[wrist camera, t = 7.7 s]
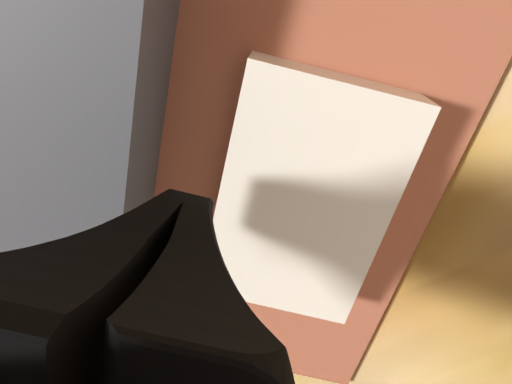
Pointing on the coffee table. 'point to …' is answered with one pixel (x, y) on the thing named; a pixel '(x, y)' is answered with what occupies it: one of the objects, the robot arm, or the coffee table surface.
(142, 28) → the deck
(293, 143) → the cream white tile
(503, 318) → the coffee table surface
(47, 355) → the robot arm
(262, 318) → the mat
